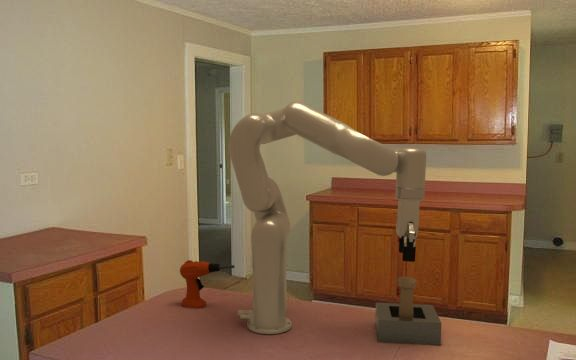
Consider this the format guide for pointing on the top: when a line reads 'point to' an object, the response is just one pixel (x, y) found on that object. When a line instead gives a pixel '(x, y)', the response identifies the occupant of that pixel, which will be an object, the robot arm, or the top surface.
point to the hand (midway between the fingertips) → (406, 256)
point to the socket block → (408, 325)
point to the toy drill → (197, 280)
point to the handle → (406, 296)
